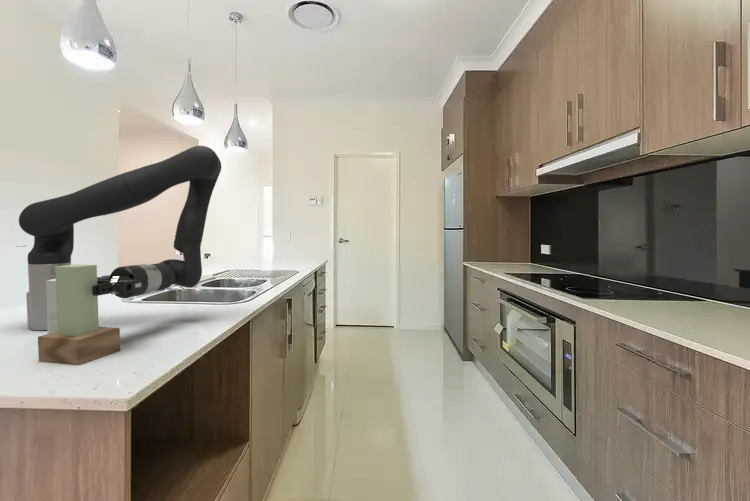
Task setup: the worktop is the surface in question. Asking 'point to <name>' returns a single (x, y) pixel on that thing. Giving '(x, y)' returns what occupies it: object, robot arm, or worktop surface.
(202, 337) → the worktop surface
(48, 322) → the skincare box
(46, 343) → the walnut riser block
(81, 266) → the sage block
